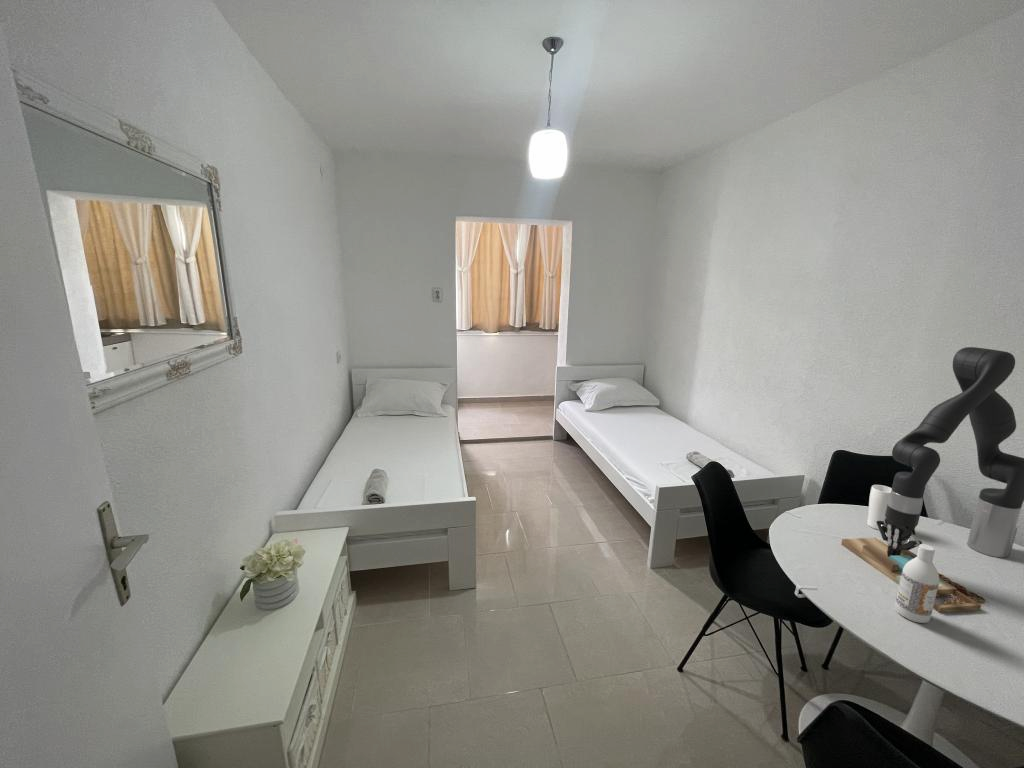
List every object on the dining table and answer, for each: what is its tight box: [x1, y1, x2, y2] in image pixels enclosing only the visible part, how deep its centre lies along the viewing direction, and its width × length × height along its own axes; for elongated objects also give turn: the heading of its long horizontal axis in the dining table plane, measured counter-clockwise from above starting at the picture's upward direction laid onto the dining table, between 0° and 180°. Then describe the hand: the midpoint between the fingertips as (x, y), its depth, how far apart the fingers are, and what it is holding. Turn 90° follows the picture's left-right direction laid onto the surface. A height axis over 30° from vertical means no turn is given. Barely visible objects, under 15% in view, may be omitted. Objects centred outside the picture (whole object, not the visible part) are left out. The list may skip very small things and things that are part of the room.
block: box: [889, 555, 914, 574], centre depth 128 cm, size 6×6×3 cm
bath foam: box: [894, 543, 940, 624], centre depth 112 cm, size 7×7×20 cm
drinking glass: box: [866, 484, 892, 531], centre depth 154 cm, size 7×7×15 cm
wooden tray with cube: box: [841, 537, 982, 614], centre depth 130 cm, size 12×32×4 cm, turn 5°
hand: (892, 557), depth 133 cm, fingers closed
